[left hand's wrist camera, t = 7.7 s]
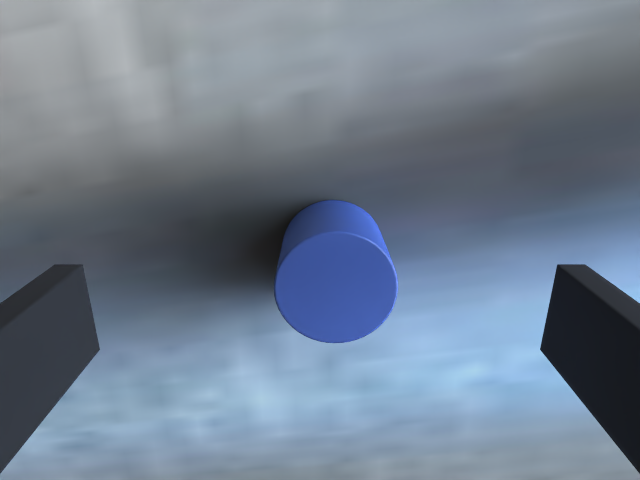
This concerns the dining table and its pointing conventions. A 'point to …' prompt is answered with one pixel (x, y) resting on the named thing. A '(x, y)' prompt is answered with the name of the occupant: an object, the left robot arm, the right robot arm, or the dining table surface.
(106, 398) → the dining table surface
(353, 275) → the canister
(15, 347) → the left robot arm
